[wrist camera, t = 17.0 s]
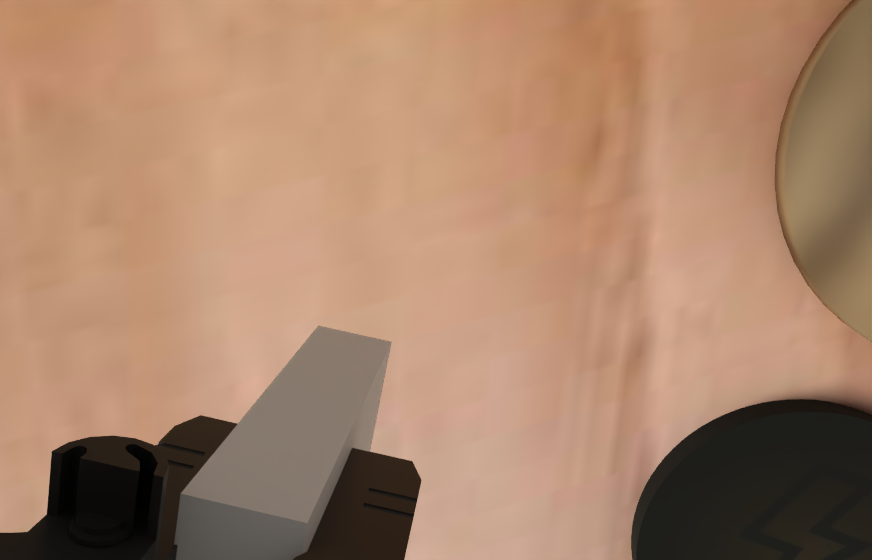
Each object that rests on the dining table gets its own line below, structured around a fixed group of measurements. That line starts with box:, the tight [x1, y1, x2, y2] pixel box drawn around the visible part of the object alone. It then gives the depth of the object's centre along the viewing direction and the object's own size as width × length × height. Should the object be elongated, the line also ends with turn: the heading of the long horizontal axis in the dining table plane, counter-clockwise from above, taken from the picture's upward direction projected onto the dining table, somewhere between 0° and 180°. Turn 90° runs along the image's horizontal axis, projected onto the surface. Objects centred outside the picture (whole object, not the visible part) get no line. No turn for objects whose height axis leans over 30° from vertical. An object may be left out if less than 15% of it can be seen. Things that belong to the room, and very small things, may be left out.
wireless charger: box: [631, 399, 872, 560], centre depth 43 cm, size 18×18×2 cm
